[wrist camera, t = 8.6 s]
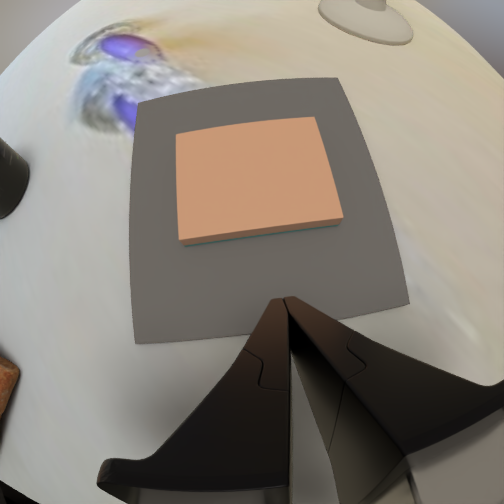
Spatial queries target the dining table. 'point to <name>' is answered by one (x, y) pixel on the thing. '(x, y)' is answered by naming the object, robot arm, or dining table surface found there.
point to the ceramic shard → (6, 381)
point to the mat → (262, 247)
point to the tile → (253, 181)
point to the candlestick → (367, 20)
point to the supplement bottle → (11, 178)
